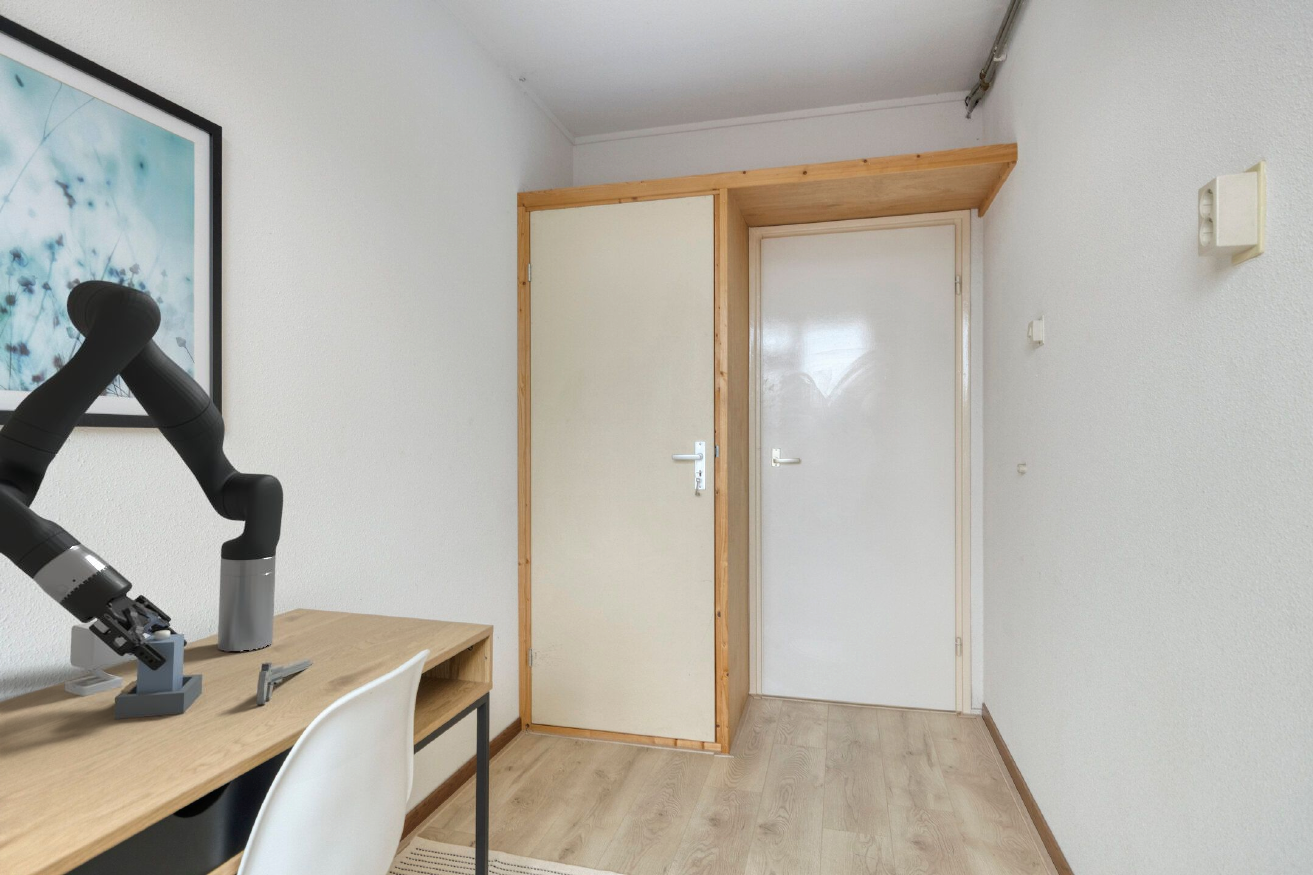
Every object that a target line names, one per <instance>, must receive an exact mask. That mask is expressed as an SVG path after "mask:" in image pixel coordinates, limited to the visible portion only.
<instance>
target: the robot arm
mask: <svg viewBox="0 0 1313 875" xmlns="http://www.w3.org/2000/svg"><path fill="white" fill-rule="evenodd" d="M66 311H67V315H68V318H69V320H70V323H72V325H73V326H74V328H75V329H76V330H77V331H78V332H79V333H80V334H81V336H83V337H84V339H83V341H82V343H81V344H80V347H79V348H78V350H76V352H75V354H74V355H72V357H71V358H70V359H69V360H68V361H67V362H66V363H65V365H63V366H62V367H61V368H60V369H59V370H58V371H57V372H56V373H54V374H53V375H52V376H50V377H49V378H48V379H46V380H44V382H43V383H41V384H40V385H39V386H37V387H36V388H34V389H33V390H32V391H30V393H29V394H28V395H27V396H25V397H24V399H23V400H21V402H20V403H19V404H18V405H17V406H16V408H15V409H14V410H13V412H11V414H10V416H9V417H8V419H7V420H6V422H5V423H4V424H3V426H2V428H1V429H0V554H2V555H3V556H4V557H6V558H7V559H8V560H10V562H11V563H13V564H14V565H15V566H16V567H17V568H18V569H20V570H21V571H22V572H23V573H24V574H26V575H27V576H28V577H29V578H31V580H33V581H34V582H35V583H36V584H37V585H38V587H40V588H41V590H42V591H43V592H44V593H45V594H46V595H48V596H49V597H50V598H52V599H53V600H54V601H55V602H56V603H58V604H59V605H60V606H61V607H62V608H64V609H65V610H66V611H68V613H70V614H71V616H73V617H75V619H76V620H78V621H79V622H81V624H85V623H90V622H94V623H93V624H92V625H91V626H90V627H89V629H90V631H92V632H93V633H94V634H95V635H96V636H97V637H99V638H100V639H101V640H102V641H103V642H104V643H105V644H107V645H108V646H109V647H110V648H111V649H112V650H113V651H115V652H116V653H117V654H118V655H120V656H124V655H125V654H126V653H127V654H128V655H133V654H134V656H136V658H137V660H138V659H139V660H140V661H142V662H143V663H144V664H145V665H146V666H148V667H149V668H150V669H151V670H153V671H155V670H157V669H158V668H160V667H161V666H162V665H163V664H164V663H165V662H166V661H167V657H166V656H165V655H164V654H162V653H161V652H160V651H159V650H158V649H156V648H155V647H154V646H153V645H152V644H150V643H149V642H148V643H147V640H146V638H145V635H144V634H146V635H149V636H151V635H154V632H157V631H162V630H169V631H170V635H172V634H179V633H178V632H177V631H175V630H174V629H173V628H172V627H170V626H171V623H170V622H171V621H172V618H171V616H169V615H168V614H166V612H164V611H163V610H162V609H160V608H159V607H158V606H156V605H155V604H154V603H153V602H152V601H151V600H149V599H148V598H147V597H146V596H144V595H142V594H140V595H138V596H137V597H136V598H135V599H133V598H131V597H128V596H127V593H129V592H130V591H131V590H132V589H133V584H132V582H131V581H129V579H127V578H126V577H125V576H124V575H123V574H121V573H120V572H119V571H118V570H117V569H115V568H114V567H113V566H112V565H111V564H110V563H108V562H107V561H106V560H105V559H104V558H103V557H101V556H100V555H99V554H98V553H96V552H94V551H93V549H92V550H91V549H90V548H88V547H87V546H86V545H84V544H82V542H80V541H79V540H78V539H77V538H76V537H74V535H72V534H71V533H70V532H68V531H67V530H66V529H65V528H64V527H62V526H61V525H60V524H58V523H57V522H54V521H53V520H49V519H46V518H44V517H42V516H40V515H38V514H37V513H36V512H35V511H33V510H32V509H31V508H30V507H31V505H32V503H33V502H34V501H35V499H36V497H37V494H38V492H39V489H40V488H41V485H42V483H43V480H44V478H45V476H46V473H47V470H48V468H49V466H50V464H51V463H52V462H53V460H54V459H55V458H56V456H57V454H58V453H59V452H60V450H61V449H62V447H63V446H64V445H65V443H66V442H67V440H68V438H69V437H70V436H71V434H72V432H73V431H74V429H75V428H76V427H77V425H78V423H79V422H80V420H81V419H82V418H83V416H84V415H85V413H87V411H88V410H89V409H90V407H91V406H92V405H93V404H94V403H95V401H96V400H97V399H98V398H99V396H100V395H102V394H103V392H104V391H105V390H106V388H108V387H109V385H110V384H112V382H113V381H114V380H115V379H116V377H118V375H119V377H120V378H121V380H122V381H123V382H124V384H125V385H126V387H127V388H128V389H129V391H130V393H131V394H132V395H133V396H134V398H135V399H136V401H137V402H138V403H139V405H140V406H141V407H142V408H143V410H144V411H145V413H146V414H147V416H148V417H149V419H150V421H152V422H153V424H154V426H156V428H157V430H159V432H160V433H161V434H162V436H163V437H164V438H165V439H166V440H167V442H168V443H169V444H170V445H171V447H172V448H173V449H174V450H175V451H176V454H178V456H179V457H180V458H181V460H182V461H183V462H184V463H185V465H186V466H187V468H188V469H189V470H190V472H191V474H192V475H193V476H194V478H195V479H196V482H197V483H198V485H199V487H200V489H201V490H202V491H203V493H204V495H205V497H206V498H207V500H208V501H209V502H208V503H209V504H210V505H211V507H212V508H213V509H214V510H215V512H216V513H217V514H218V515H219V516H220V517H221V518H224V519H226V520H230V521H235V522H236V521H238V522H244V525H243V526H244V527H243V531H242V533H241V534H240V535H239V536H236V537H235V538H232V539H228V540H226V541H223V543H222V544H221V548H220V570H219V571H220V575H219V576H220V577H219V598H218V600H219V603H218V605H219V606H218V624H217V625H218V626H217V628H218V630H217V650H220V651H222V650H225V651H224V652H229V651H240V652H242V651H241V650H249V651H254V650H253V649H256V648H260V649H263V647H264V648H266V646H267V645H269V646H271V645H272V644H273V643H272V642H273V641H274V640H273V638H274V618H275V617H274V616H275V615H274V614H275V613H274V612H275V592H276V590H275V588H276V559H277V558H276V557H277V556H276V555H277V547H278V544H279V541H280V539H281V531H282V520H283V519H282V518H283V508H284V490H283V486H282V484H281V481H280V480H279V479H278V477H276V476H275V475H272V474H267V473H247V472H245V473H244V472H243V473H242V472H240V471H238V470H237V469H236V468H235V467H234V465H233V464H232V463H231V462H230V460H229V459H228V457H227V456H226V454H225V452H224V449H223V448H224V441H225V430H226V429H225V428H226V427H225V421H224V418H223V416H222V414H221V412H220V411H219V410H218V407H217V406H216V404H215V403H214V401H213V400H212V398H211V397H210V396H209V394H208V393H207V392H206V390H205V389H204V388H203V387H202V386H201V385H200V384H199V383H198V382H197V381H196V380H195V379H194V378H193V377H192V376H191V375H190V374H189V373H188V372H186V370H184V369H183V368H182V367H180V365H178V364H177V363H176V362H175V361H174V360H173V359H171V358H170V357H169V356H168V355H167V354H166V353H165V352H164V351H163V350H162V349H161V348H160V347H159V345H158V344H157V343H156V342H155V340H154V336H155V335H156V334H157V332H158V330H159V328H160V326H161V321H162V312H161V310H160V307H159V305H158V303H157V301H155V299H154V298H153V297H152V296H150V295H149V294H148V293H146V292H144V291H142V290H140V289H137V288H134V287H131V286H127V285H124V284H120V283H117V282H114V281H109V280H102V279H101V280H100V279H96V280H95V279H93V280H91V279H90V280H86V281H83V282H80V283H78V284H76V285H75V286H74V287H73V288H72V289H71V290H70V292H69V293H68V297H67V299H66ZM95 619H96V622H95ZM146 643H147V644H146ZM187 644H188V642H187V640H186V639H185V638H184V648H185V647H186V646H187ZM270 644H271V645H270ZM120 645H122V646H120ZM267 647H268V646H267ZM256 650H257V649H256Z"/></svg>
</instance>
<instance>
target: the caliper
mask: <svg viewBox="0 0 1313 875" xmlns="http://www.w3.org/2000/svg"><path fill="white" fill-rule="evenodd" d="M312 664H313V661H311V659H302V660H299V661H296V662H293V663H290V664H287V665H276V666H273V662H264V663H261V669H260V671H259V672H258V677H257V678H258V679H257V686H256V687H257V688H256V705H257V706H265V705H266V702H267V703H268V702H270V701H271V699H272V698H271V697H272V693H273V689H274V685H279V684H282V683H283V678H286V677H288V676H290V675H293V674H296V673H299V672H302V671H304V670H306V669H308V668H309V667H311V666H310V665H312Z"/></svg>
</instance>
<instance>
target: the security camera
mask: <svg viewBox="0 0 1313 875" xmlns="http://www.w3.org/2000/svg"><path fill="white" fill-rule="evenodd" d="M96 621H97V620H96ZM96 621H95V620H94V621H91V622H88V623H80V624H75V625H73V626H72V627H71V633H70V634H71V636H70V637H71V638H70V659H69V660H70V665H71V666H72V667H77V668H80V669H83V670H85V671H86V672H88V673H90V674H91V675H90V676H89V675H88V676H85V677H81V678H77V679H73V680H69V681H65V682H64V691H65V692H68V693H71V694H75V695H78V696H81V697H87V696H91V695H94V694H97V693H98V694H99V693H103V692H105V691H110V690H114V689H116V688H121V687H123V685H124V684H123V682H124V681H123V680H124V677H121V676H117V675H114V674H110V673H107V672H105V670H103V669H101V668H102V667H106V666H110V665H115V664H119V663H124V662H127V661H131V662H133V661H135V659H136V658H137V657H136V656H134V654H133V655H128V654H127V653H126V654H125V655H124V656H120V655H118V654H117V653H116V652H115V651H113V650H112V649H111V648H110V647H109V646H108V645H107V644H105V643H104V642H103V641H102V640H101V639H100V638H99V637H97V636H96V635H95V634H94V633H93V632H92V631H90V629H89V627H90V626H91V625H92V624H93V623H94V622H96ZM120 646H122V645H120Z"/></svg>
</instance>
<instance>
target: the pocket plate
mask: <svg viewBox="0 0 1313 875" xmlns="http://www.w3.org/2000/svg"><path fill="white" fill-rule="evenodd" d="M136 693H137V679H136V680H134V681H133V680H132V681H131V682H130V683H129V684H128V685H126V686H125V687H124V688H122V689H121V691H120V693H119V694H117V695H116V696H115V697H114V713H113V714H114V717H113V719H116V720H117V719H128V718H141V717H154V716H165V715H166V716H167V715H180V714H181V715H182V714H184V713H186V711H187V710H188V709H189V708H190V707H191V705H193V703H194V702H195V701H196V700H197V699H198V698H199V697H200V696H201V695H202V694H203V673H200V674H185V675H184V674H183V681H182V688H181V689H180V690H179V691H171V692H156V693H141V694H136ZM200 694H201V695H200ZM199 695H200V696H199Z"/></svg>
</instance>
